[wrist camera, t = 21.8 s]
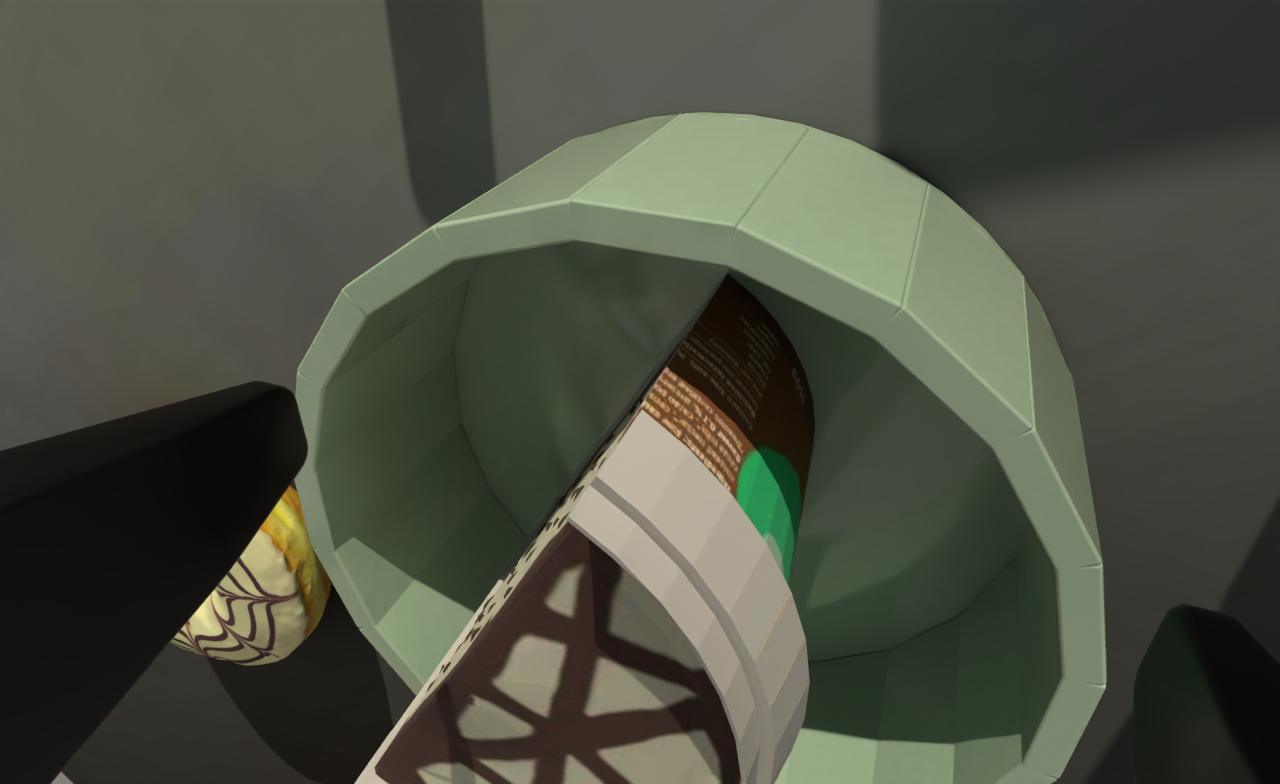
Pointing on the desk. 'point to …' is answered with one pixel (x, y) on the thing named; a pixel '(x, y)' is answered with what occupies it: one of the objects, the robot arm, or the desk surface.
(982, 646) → the pot
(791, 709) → the food container
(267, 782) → the desk surface
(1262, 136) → the desk surface
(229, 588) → the decorated donut
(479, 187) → the desk surface
